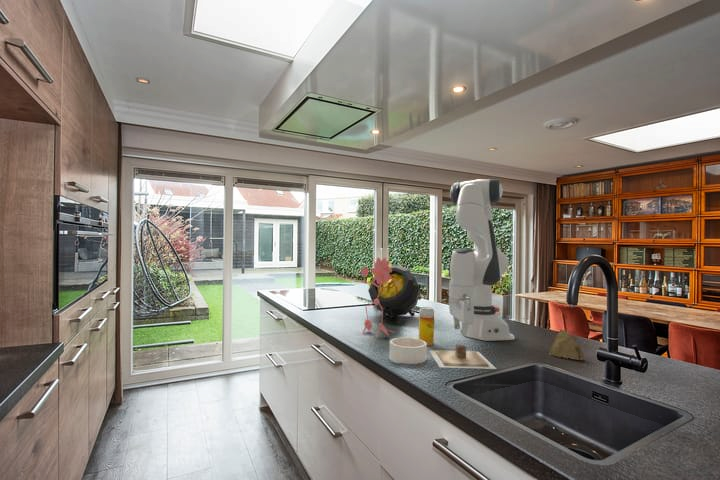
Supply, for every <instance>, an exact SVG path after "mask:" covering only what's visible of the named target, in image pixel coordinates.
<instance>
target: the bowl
mask: <svg viewBox="0 0 720 480" xmlns="http://www.w3.org/2000/svg"><path fill="white" fill-rule="evenodd" d="M388 350H389V355H388V356H389V360H390V361H391V362H392V363H394V364H399V365H400V364H405V365H406V364H407V365H409V364H412V365H417V364H421V363H424V362H425V361H427V353H428V345H427V343H426V342H425V341H423V340H420V339H419V338H414V337H396V338H392V339H390V340H389V349H388Z"/></svg>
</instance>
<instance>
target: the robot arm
mask: <svg viewBox="0 0 720 480" xmlns="http://www.w3.org/2000/svg"><path fill="white" fill-rule="evenodd" d="M503 193H504V188H503V185H502V183H501V181H500V180H499V179H495V178H490V179H486V178H480V179H474V180H473V179H471V180H465V181H457V182H454V183H453V184H452V185H451V187H450V191H449V198H450V199H451V200H450V201H451V202H452V203H453V204H454V205H455V206H456V209H455V219H456V222H457V224H458V225H459V226H460V228H462V229H463V230H465V231H466V235H467V239H468V240H469V241H470V242H472V243H473V244H475V246H476V248H477V250H473V249H472V248H466V247H460V248H455V249H453V250H452V252H451V257H450V262H448V276H449V277H450V281H449V285H448V286H449V287H448V289H447V295H448V307H449V308H448V309H449V315H451V316H452V317H453V328H454V329H455V330H460V334H461V335H462V336H465V337H468V338H471V339H475V340H476V339H477V340H480V341H485V342H486V341H487V342H489V341H491V342H492V341H515V340H516V339H515V337H516V336H515V334H513V333H511V332H510V329H509V323H507V322H506V321H505V320H503V319H502V318H501V317H500V316H499V315H498V314H497V313H499V312H500V308H499V307H498V306H494V305H493V289H492V286H495V285H496V284H498V283H499V282H500V281H501V278H502V275H504V274H506V272H507V271H508V268H509V266H510V265H509V264H510V263H509V258H508V256H507V255H506V254H505V253H503V252H502V250H500V248H499V247H498V246H497V239H496V234H495V230H494V225H493V212H492V207H494V206H495V205H496V204H497V203H499V202H500V201H501V200H502V196H503ZM460 323H461V324H460Z"/></svg>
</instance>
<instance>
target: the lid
mask: <svg viewBox="0 0 720 480" xmlns="http://www.w3.org/2000/svg"><path fill="white" fill-rule="evenodd" d="M435 351H436V354H437V355H438V357H439V358H440V360H441V361H442V363H443V364H444V365H447V366H484V367H489V364H488V363H487V362H486V361H485V360H484V359H483V358H482V357H481V356H480V355H479V354H478V353H477V352H478V351H475V350H467V346H466V345H465V344H458V343H457V344H455V349H454V350H449V349H448V350H446V349H445V350H442V349H441V350H440V349H436V350H435Z"/></svg>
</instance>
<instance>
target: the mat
mask: <svg viewBox="0 0 720 480" xmlns="http://www.w3.org/2000/svg"><path fill="white" fill-rule="evenodd" d="M476 352H477V353H478V354H479V355H480V356H481V357H482V358H483V359H484V360H485V361H486V362H487V363H488V364H489V367H484V366H447V365H444V364H443V363H442V361H441V360H440V358H439V357H438V355H437V354H436V350H429V353H430V354H431V356H432V358H433V359H434V360H435V362H436V364H437V366H438V368H443V369H446V368H448V369H450V368H451V369H452V368H453V369H482V370H484V369H486V370H489V369H491V370H497V367H495V366H494V365H493V364H492V363H491V362H490V361H489V360H488V359H487V358H486V357H485V356H484V355H483V354H481V353H480V352H479V351H476Z"/></svg>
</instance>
